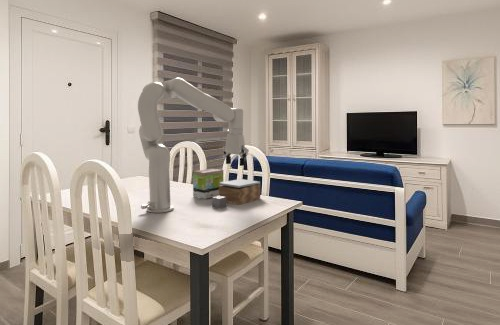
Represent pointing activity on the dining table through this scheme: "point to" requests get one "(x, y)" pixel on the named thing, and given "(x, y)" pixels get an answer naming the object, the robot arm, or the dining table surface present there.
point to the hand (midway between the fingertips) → (235, 164)
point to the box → (240, 193)
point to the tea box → (207, 183)
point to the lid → (239, 183)
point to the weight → (219, 202)
